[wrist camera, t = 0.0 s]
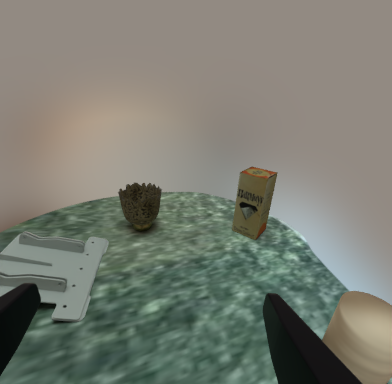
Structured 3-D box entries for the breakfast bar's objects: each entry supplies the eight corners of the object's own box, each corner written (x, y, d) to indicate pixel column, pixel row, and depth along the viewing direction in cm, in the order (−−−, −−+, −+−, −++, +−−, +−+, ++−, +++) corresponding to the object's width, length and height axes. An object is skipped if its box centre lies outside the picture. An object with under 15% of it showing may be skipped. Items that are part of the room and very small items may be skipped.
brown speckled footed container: (147, 243, 38) (145, 202, 35) (113, 232, 40) (109, 193, 37) (168, 222, 44) (168, 186, 41) (138, 214, 47) (135, 179, 43)
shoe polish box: (255, 240, 40) (267, 179, 35) (232, 230, 43) (240, 172, 38) (265, 229, 44) (277, 172, 39) (243, 220, 47) (251, 166, 42)
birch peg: (375, 426, 18) (436, 350, 14) (322, 424, 18) (367, 347, 14) (342, 365, 22) (382, 292, 18) (298, 363, 22) (328, 290, 18)
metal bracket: (-69, 296, 20) (21, 215, 34) (-65, 337, 22) (19, 245, 36) (94, 310, 24) (116, 233, 38) (85, 344, 26) (110, 259, 40)
